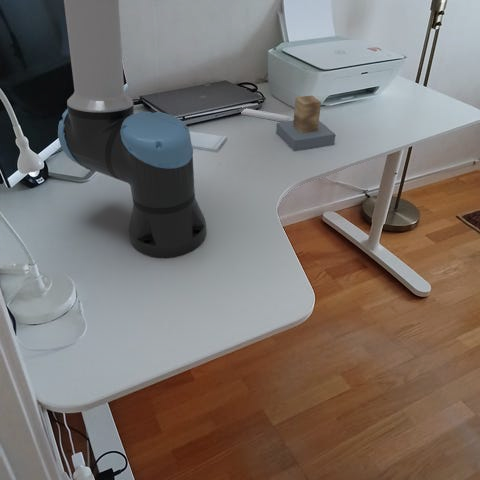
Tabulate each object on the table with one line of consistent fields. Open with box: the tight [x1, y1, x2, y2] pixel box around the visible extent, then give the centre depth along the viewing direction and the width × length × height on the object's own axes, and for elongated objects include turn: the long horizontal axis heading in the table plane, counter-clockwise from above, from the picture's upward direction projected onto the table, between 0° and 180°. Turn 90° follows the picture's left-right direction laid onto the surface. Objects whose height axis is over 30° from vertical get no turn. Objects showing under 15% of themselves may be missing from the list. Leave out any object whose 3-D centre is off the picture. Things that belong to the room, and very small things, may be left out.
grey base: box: [275, 119, 336, 152], centre depth 124 cm, size 12×12×3 cm
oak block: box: [293, 95, 322, 133], centre depth 121 cm, size 5×5×8 cm
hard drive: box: [189, 130, 228, 153], centre depth 123 cm, size 2×8×12 cm
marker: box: [240, 107, 294, 122], centre depth 136 cm, size 18×2×2 cm, turn 64°
